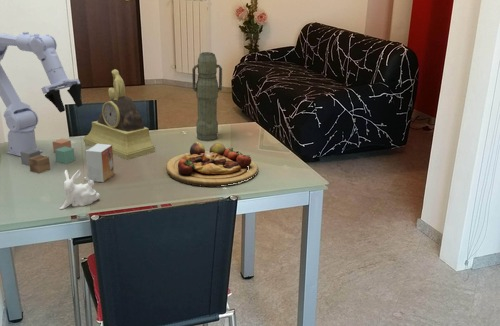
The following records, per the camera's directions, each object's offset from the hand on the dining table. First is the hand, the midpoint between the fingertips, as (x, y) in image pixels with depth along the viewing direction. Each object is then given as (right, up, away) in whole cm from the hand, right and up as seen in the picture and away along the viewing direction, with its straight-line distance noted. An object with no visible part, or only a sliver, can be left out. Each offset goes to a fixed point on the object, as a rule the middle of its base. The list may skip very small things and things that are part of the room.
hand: (71, 108), depth 172 cm
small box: (+11, -23, -4) cm, 26 cm away
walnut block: (-11, -21, +1) cm, 23 cm away
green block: (-6, -18, +10) cm, 21 cm away
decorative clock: (+9, -12, +26) cm, 30 cm away
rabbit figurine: (+10, -30, -22) cm, 38 cm away
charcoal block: (-17, -18, +7) cm, 26 cm away
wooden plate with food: (+47, -21, +6) cm, 52 cm away
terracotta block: (-10, -14, +19) cm, 25 cm away
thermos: (+42, -8, +40) cm, 59 cm away
